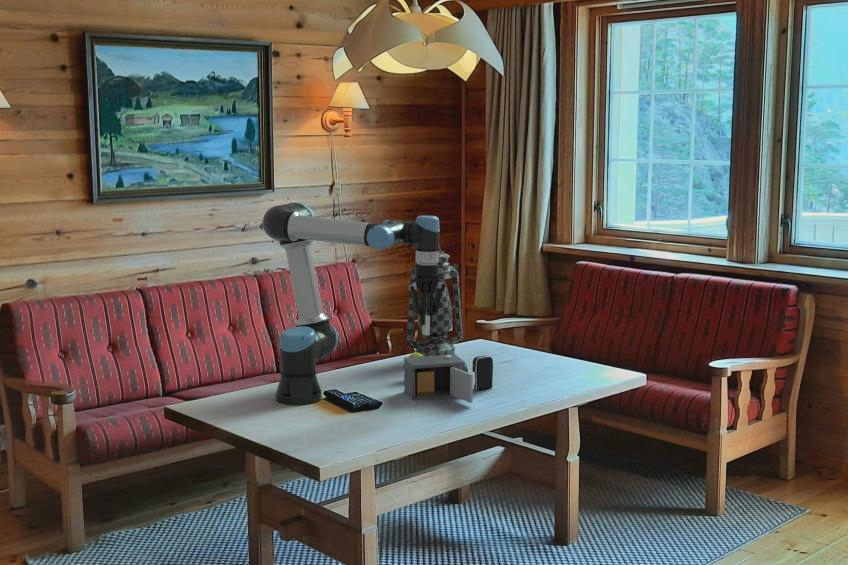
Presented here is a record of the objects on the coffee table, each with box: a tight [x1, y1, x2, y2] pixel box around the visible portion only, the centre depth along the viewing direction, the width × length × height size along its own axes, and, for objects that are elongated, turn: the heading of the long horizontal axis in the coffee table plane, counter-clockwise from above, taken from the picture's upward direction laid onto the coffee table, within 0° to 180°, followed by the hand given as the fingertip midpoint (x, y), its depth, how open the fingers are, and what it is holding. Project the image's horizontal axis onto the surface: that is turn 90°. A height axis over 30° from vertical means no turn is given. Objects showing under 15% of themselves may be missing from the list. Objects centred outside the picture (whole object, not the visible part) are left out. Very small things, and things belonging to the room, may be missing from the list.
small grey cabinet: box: [403, 353, 469, 402], centre depth 343 cm, size 20×12×13 cm, turn 105°
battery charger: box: [471, 354, 494, 391], centre depth 351 cm, size 7×4×11 cm, turn 125°
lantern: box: [406, 245, 464, 356], centre depth 387 cm, size 24×18×45 cm
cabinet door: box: [450, 367, 474, 404], centre depth 334 cm, size 12×1×9 cm, turn 32°
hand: (425, 334), depth 334 cm, fingers closed
